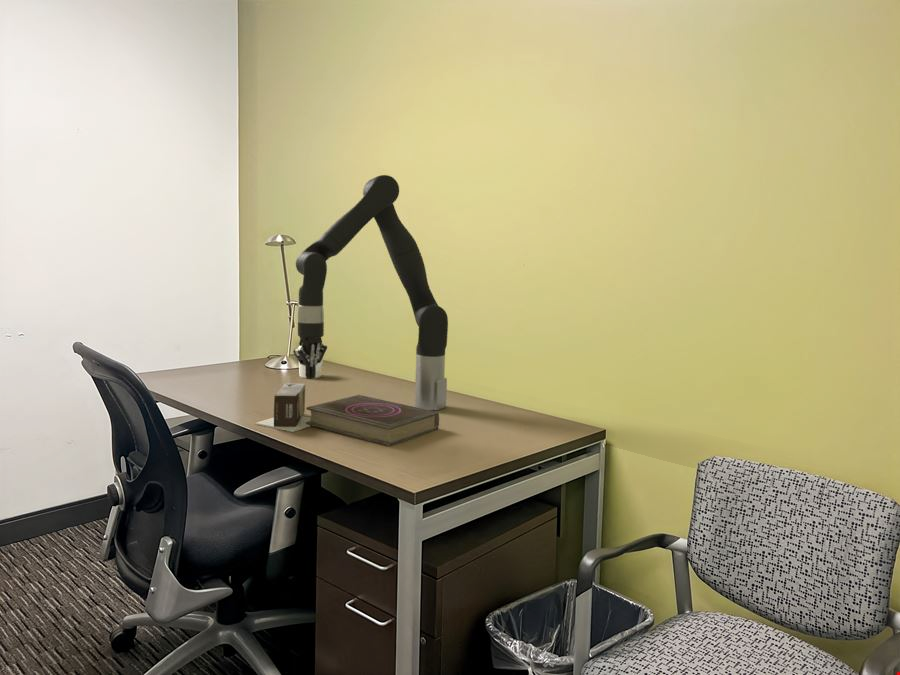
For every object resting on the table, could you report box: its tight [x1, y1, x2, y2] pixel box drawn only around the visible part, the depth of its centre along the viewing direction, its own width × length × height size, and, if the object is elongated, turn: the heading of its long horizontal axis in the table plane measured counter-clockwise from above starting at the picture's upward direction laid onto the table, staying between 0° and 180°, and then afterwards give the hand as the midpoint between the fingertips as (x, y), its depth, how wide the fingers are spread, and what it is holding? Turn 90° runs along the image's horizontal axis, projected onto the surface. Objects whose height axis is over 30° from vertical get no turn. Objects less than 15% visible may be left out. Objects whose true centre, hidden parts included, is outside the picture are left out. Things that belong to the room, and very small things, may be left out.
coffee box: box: [273, 382, 306, 427], centre depth 200 cm, size 9×6×16 cm
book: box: [305, 394, 440, 447], centre depth 197 cm, size 30×22×5 cm
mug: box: [298, 354, 324, 380], centre depth 264 cm, size 11×9×10 cm
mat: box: [255, 413, 313, 433], centre depth 200 cm, size 14×16×1 cm
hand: (310, 378), depth 205 cm, fingers closed
